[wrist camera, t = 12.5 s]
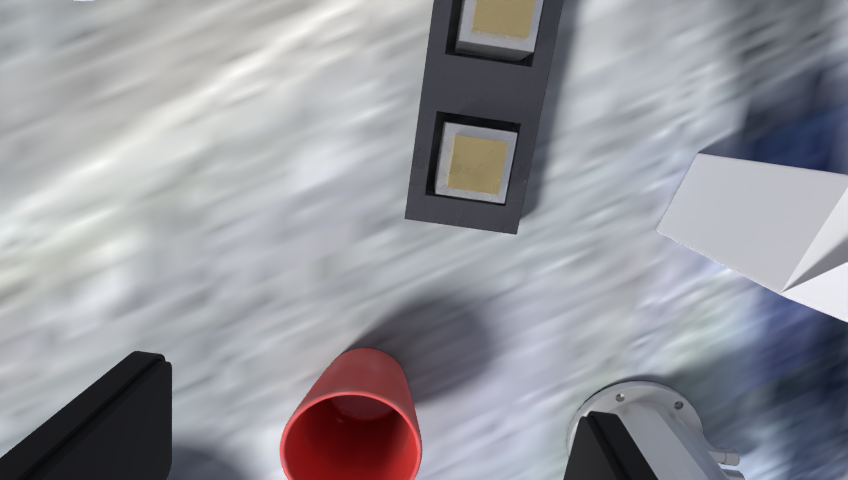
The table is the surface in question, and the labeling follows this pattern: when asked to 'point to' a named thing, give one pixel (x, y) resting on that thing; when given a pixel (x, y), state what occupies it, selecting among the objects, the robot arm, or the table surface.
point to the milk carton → (768, 226)
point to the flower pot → (354, 423)
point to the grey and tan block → (498, 28)
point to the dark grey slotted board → (485, 98)
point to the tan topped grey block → (474, 162)
